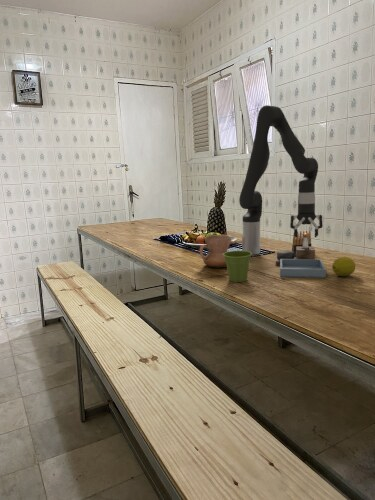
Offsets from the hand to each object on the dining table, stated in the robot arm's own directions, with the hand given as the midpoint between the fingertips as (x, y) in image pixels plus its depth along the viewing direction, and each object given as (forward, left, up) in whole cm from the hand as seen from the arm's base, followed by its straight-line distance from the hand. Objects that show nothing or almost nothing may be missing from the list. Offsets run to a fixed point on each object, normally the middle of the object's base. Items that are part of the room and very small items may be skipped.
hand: (306, 237), depth 178 cm
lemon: (+13, -22, -13) cm, 29 cm away
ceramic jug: (-41, -9, -13) cm, 43 cm away
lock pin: (0, 0, -10) cm, 10 cm away
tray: (-3, -16, -12) cm, 21 cm away
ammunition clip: (-1, +20, -13) cm, 24 cm away
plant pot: (-29, -32, -13) cm, 45 cm away
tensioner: (-5, 0, -12) cm, 13 cm away
